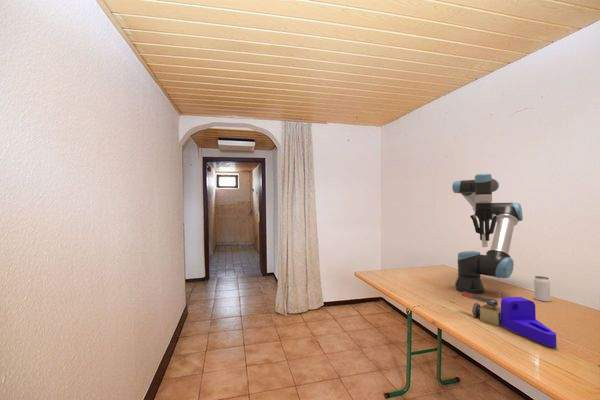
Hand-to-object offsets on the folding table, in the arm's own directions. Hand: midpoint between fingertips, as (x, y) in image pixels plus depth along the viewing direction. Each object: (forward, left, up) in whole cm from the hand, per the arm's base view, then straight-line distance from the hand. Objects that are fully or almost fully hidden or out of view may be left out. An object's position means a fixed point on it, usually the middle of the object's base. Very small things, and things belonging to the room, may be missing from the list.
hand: (484, 246), depth 144 cm
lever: (+6, -23, -22) cm, 32 cm away
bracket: (+27, -27, -29) cm, 48 cm away
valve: (+12, -24, -29) cm, 40 cm away
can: (+16, +28, -30) cm, 44 cm away
